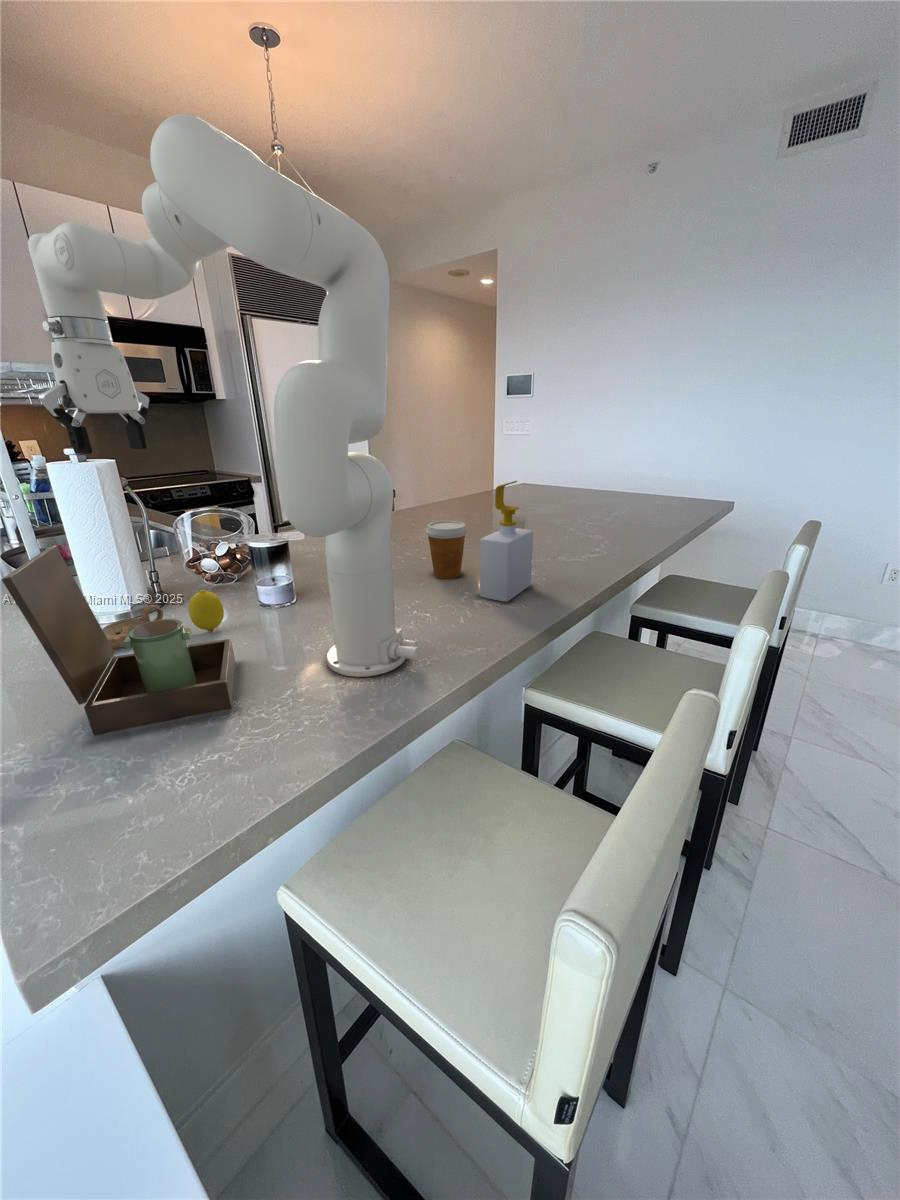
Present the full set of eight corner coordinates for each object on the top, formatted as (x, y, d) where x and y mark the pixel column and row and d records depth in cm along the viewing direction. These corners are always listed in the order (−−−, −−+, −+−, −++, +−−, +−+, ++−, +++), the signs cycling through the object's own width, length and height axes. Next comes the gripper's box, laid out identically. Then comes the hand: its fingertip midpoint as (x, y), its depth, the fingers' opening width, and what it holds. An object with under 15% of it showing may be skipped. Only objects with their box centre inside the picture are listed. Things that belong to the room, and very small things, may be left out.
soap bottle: (506, 603, 99) (510, 486, 90) (478, 597, 102) (479, 483, 94) (531, 585, 108) (537, 478, 100) (504, 580, 112) (507, 476, 103)
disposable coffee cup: (422, 570, 119) (421, 522, 115) (459, 566, 122) (459, 519, 118) (433, 582, 111) (432, 531, 107) (472, 578, 114) (473, 527, 109)
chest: (236, 665, 77) (230, 638, 75) (232, 713, 65) (225, 681, 63) (121, 685, 72) (112, 656, 70) (95, 740, 60) (83, 707, 58)
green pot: (205, 677, 72) (190, 614, 68) (200, 699, 66) (185, 632, 63) (146, 687, 69) (128, 623, 66) (137, 711, 64) (116, 642, 60)
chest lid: (56, 545, 63) (49, 546, 63) (9, 577, 51) (0, 579, 51) (115, 652, 70) (109, 654, 70) (86, 702, 58) (78, 705, 58)
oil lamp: (102, 663, 78) (93, 635, 76) (77, 653, 81) (68, 626, 79) (179, 632, 88) (172, 606, 87) (154, 624, 92) (147, 599, 90)
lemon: (214, 639, 86) (205, 596, 83) (186, 636, 87) (177, 594, 84) (233, 626, 91) (225, 585, 88) (207, 624, 92) (198, 583, 89)
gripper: (38, 325, 66) (76, 456, 72) (150, 339, 81) (173, 447, 87) (2, 328, 68) (41, 455, 75) (117, 342, 84) (142, 446, 90)
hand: (112, 450), depth 81 cm, fingers open, 9 cm apart
